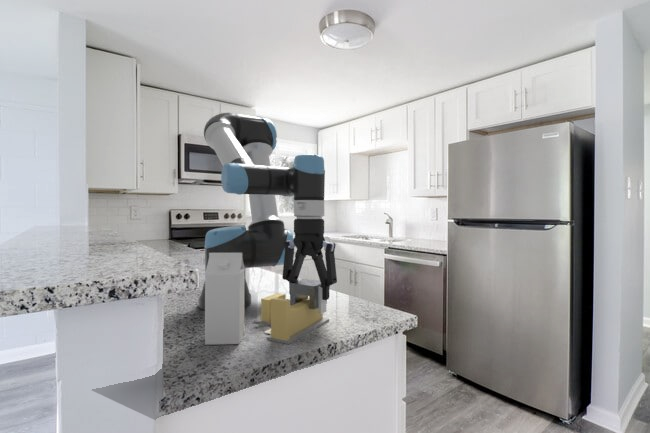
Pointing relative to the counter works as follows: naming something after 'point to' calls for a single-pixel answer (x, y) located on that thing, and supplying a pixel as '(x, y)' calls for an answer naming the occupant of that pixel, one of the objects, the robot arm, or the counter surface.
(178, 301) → the counter surface
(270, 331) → the label
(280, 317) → the rail
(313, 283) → the grey block
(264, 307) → the stub
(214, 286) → the milk carton
